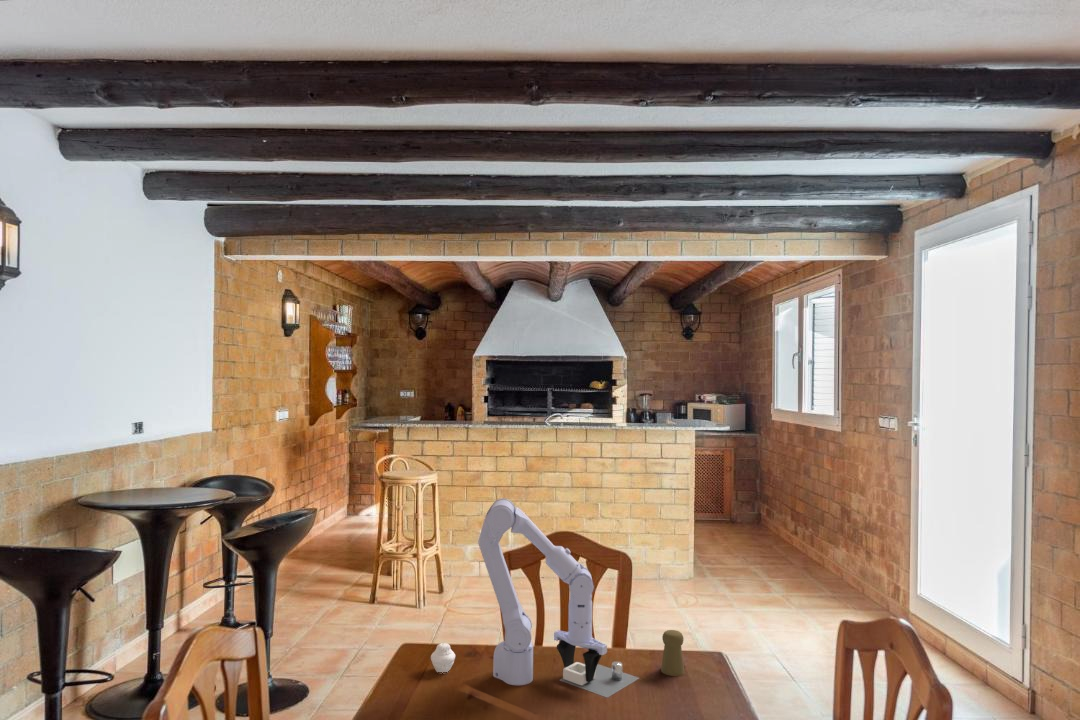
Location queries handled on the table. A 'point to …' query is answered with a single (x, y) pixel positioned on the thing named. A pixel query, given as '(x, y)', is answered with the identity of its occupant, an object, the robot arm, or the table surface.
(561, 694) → the table surface
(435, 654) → the white rounded jar shape
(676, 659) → the cork
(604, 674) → the board
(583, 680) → the collar
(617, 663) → the post
